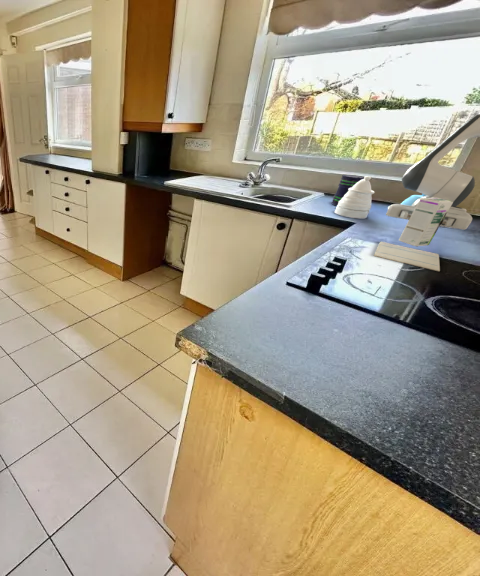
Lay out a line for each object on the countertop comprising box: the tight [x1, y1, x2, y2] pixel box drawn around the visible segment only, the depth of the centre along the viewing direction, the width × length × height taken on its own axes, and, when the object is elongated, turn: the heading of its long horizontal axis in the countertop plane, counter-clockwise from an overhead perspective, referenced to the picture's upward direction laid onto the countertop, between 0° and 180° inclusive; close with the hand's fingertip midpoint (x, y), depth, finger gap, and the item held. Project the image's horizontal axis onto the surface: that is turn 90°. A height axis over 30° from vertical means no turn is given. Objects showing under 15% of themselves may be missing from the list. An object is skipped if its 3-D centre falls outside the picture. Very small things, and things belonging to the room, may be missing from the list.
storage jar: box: [331, 174, 365, 206], centre depth 169 cm, size 10×10×15 cm
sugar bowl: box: [400, 193, 427, 206], centre depth 153 cm, size 15×15×12 cm
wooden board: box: [373, 241, 441, 272], centre depth 107 cm, size 16×20×1 cm
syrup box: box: [398, 197, 453, 247], centre depth 101 cm, size 6×6×14 cm
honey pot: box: [334, 175, 376, 220], centre depth 149 cm, size 13×13×18 cm
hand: (426, 220), depth 100 cm, fingers closed on syrup box, 7 cm apart
